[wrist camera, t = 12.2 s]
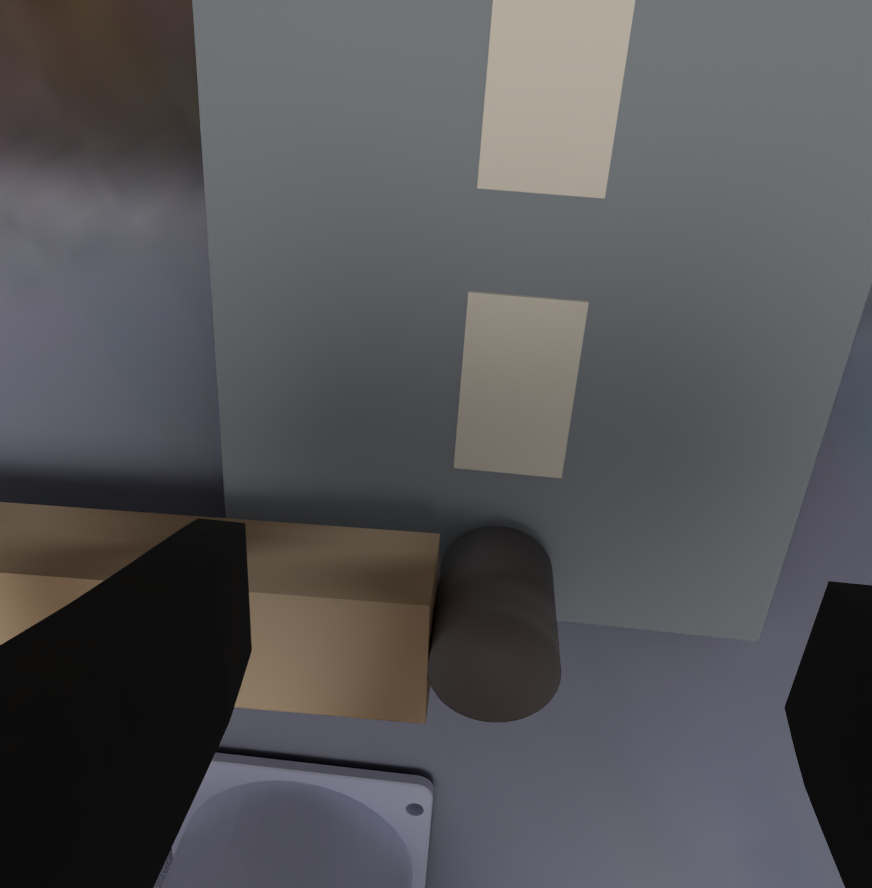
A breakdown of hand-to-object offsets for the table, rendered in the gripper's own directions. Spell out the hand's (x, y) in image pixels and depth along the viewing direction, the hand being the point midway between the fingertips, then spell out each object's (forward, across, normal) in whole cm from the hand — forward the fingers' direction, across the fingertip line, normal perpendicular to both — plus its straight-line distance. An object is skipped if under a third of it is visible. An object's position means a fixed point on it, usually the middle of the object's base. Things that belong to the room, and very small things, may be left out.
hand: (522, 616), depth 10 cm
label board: (+8, 0, -2) cm, 9 cm away
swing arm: (+7, +6, +5) cm, 11 cm away
